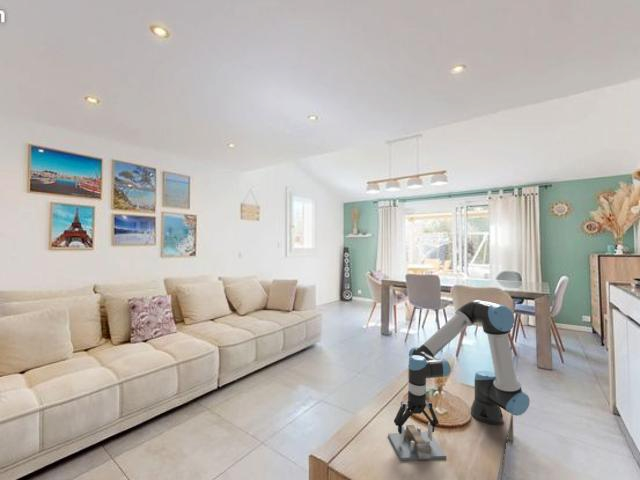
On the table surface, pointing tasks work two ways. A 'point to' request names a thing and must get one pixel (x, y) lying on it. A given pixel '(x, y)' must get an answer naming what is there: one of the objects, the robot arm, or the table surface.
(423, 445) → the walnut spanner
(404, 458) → the slate peg board
